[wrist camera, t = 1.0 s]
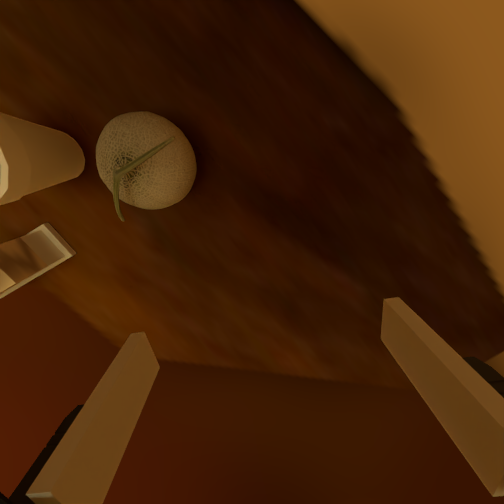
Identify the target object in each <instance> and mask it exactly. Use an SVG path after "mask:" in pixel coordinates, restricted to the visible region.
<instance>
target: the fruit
mask: <svg viewBox="0 0 504 504" xmlns="http://www.w3.org/2000/svg"><path fill="white" fill-rule="evenodd" d="M96 164H97V168H98V172H99V175H100V178H101V179H102V180H103V182H104V183H105V184H106V186H107V187H108V189H109V190H110V191H111V192H112V193H113V197H114V204H115V208H116V211H117V214H118V216H119V217H120V219H121V220H122V221H125V219H124V217H123V215H122V213H121V210H120V205H119V199H121V200H122V201H124V202H126V203H128V204H130V205H133V206H136V207H139V208H143V209H157V210H158V209H162V208H165V207H169V206H171V205H173V204H175V203H177V202H179V201H181V200H182V199H183V198H184V197H185V196H186V195H187V194H188V193H189V191H190V189H191V187H192V185H193V183H194V180H195V177H196V170H197V168H196V159H195V154H194V151H193V149H192V147H191V144H190V143H189V141H188V139H187V138H186V137H185V135H184V134H183V133H182V131H181V130H180V129H179V128H178V127H177V126H176V125H174V124H173V123H172V122H170V121H169V120H167V119H165V118H164V117H162V116H159V115H157V114H154V113H151V112H130V113H126V114H122V115H120V116H117V117H115V118H114V119H113V120H111V121H110V122H109V123H108V124H107V125H106V126H105V127H104V129H103V131H102V133H101V135H100V137H99V139H98V143H97V146H96Z"/></svg>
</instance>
